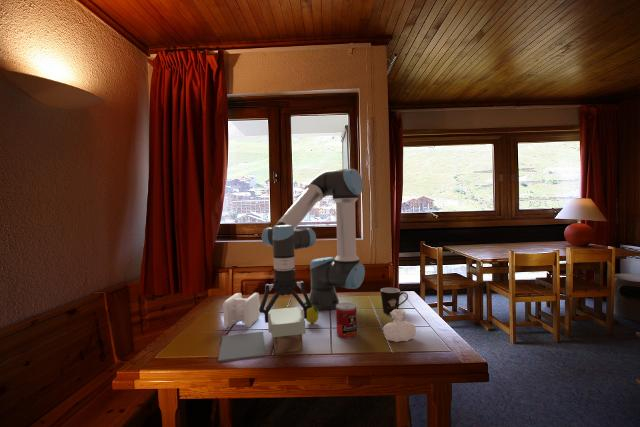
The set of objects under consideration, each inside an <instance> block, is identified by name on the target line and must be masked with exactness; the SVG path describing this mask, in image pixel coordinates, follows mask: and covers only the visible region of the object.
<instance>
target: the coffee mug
mask: <svg viewBox="0 0 640 427" xmlns="http://www.w3.org/2000/svg"><path fill="white" fill-rule="evenodd" d="M403 294H405V295H406V298H405V299H403V301H402V302H400V297H401V296H402V295H403ZM408 298H409V295H408V293H407V292H404V291H403V292H401V290H400V289H399V288H396V287H383V288H380V299H381V304H382V311H383V313H384V314H385V315H388V316H389V315H390V312H392V311H393V310H394V309H398V310H399V307H400V306H401V305H402V304H404V303H405V302H407V300H408ZM390 316H391V315H390Z"/></svg>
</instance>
